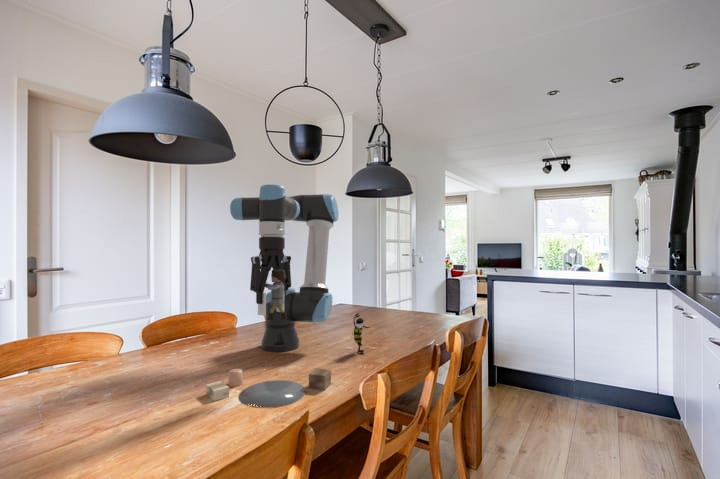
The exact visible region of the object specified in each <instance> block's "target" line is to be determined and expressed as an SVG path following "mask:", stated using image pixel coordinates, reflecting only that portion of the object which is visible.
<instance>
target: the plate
mask: <svg viewBox="0 0 720 479" xmlns="http://www.w3.org/2000/svg"><path fill="white" fill-rule="evenodd" d="M305 393H306V389H305V387H304V386H303V384H301V383H299V382H296V381H290V380H284V379H283V380H281V379H278V380H275V379H274V380H266V381H261V382H258V383H254V384H252V385H249V386H247V387H245V388H243V390H242V391H241V392H239V394H238V400H239V401H240V402H241V404H243V403H244V404H243V405H245V404H247V405H246V406H248V404H249V405H251V404H252V406H253V405H254V404H255V406H256V405H257V406H258V407H260V406H261V407H273V408H278V406H281V407H284V406H283V405H285V406H289V405H292V404H293V402H294V403H296V402H298V401H299V399H300V400H301V399H302V398H304V397H305V395H306V394H305ZM288 404H289V405H288ZM252 406H251V407H252ZM258 407H257V408H258Z"/></svg>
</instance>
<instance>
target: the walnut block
mask: <svg viewBox="0 0 720 479" xmlns="http://www.w3.org/2000/svg"><path fill="white" fill-rule="evenodd" d="M331 384H332V369H326V368H324V369H323V368H314V369H313V370H312V371H311V372H309V373H308V389H309V390H310V389H311V390H318V391H326V390H327V389H328V388H329V387H330V386H331Z"/></svg>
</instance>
